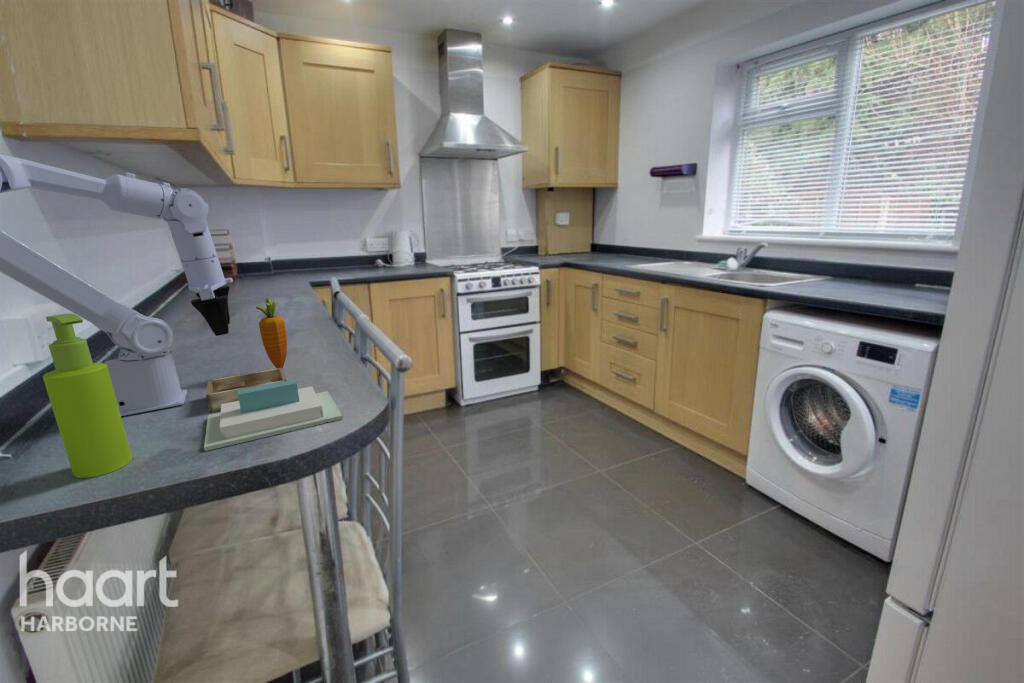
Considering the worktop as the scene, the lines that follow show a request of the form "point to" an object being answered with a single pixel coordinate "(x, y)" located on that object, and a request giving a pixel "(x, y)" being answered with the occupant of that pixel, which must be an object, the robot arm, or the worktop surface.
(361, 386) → the worktop surface
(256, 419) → the lid
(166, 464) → the worktop surface
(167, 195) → the robot arm
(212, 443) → the mat
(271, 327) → the carrot
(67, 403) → the soap dispenser
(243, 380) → the storage box
